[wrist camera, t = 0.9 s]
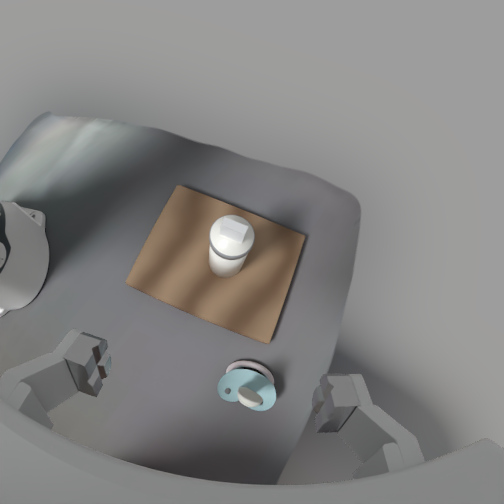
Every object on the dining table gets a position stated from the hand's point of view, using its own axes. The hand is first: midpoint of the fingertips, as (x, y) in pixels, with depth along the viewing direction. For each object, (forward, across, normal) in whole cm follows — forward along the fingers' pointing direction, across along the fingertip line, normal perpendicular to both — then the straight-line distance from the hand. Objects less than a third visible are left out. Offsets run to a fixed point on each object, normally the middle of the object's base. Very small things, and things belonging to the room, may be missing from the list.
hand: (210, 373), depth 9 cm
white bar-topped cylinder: (+26, +1, +8) cm, 27 cm away
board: (+27, +2, +8) cm, 28 cm away
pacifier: (+17, -4, +20) cm, 27 cm away
